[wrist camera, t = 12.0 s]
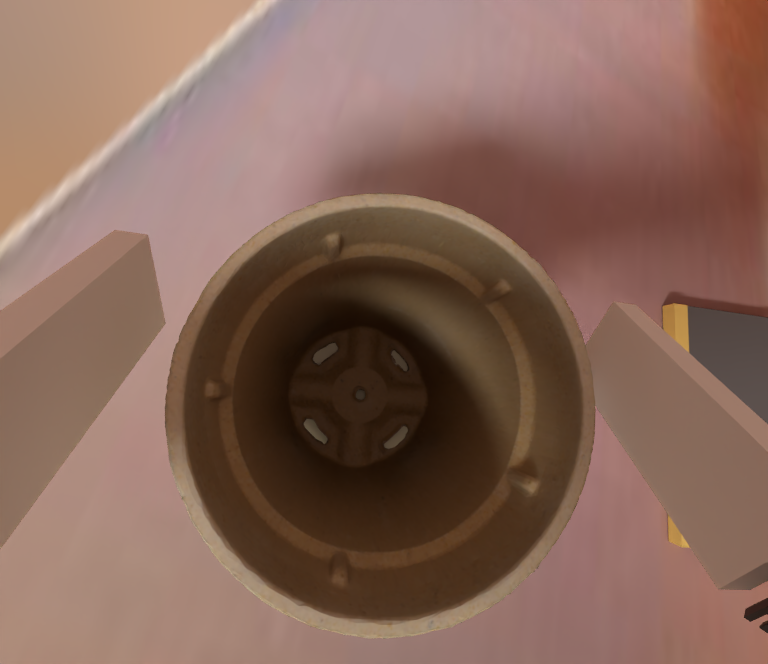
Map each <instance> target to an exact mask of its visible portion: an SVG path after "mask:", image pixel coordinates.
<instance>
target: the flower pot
mask: <svg viewBox="0 0 768 664" xmlns="http://www.w3.org/2000/svg"><path fill="white" fill-rule="evenodd" d="M331 343H336V345H337V347H338V350H337V351H336V352H335V353H333V354H332V355H331V356H330V357H328V358H326V359H325V360H324V361H323V362H321V364H320V365H318V364H317V363H315V362H314V361H313V357H314V354H315V353H316V352H317V351H319V350H320V349H322V348H324V347H326V346H328V345H329V344H331ZM393 350H395V351H396V352H397V353H398V354H399V355H400V356H401V357H402V358H403V359H404V361H405V362H406V364H407V367H408V370H407V371H404V370H403V368H401V366H400V365H399V364H397V365H396V364H395V363H396V361H395V359H394V358H393V356H392V355H391V354H392V351H393ZM358 390H363V391H364V392H365V398H364V399H362V400H360V399H357V398H356V393H357V391H358ZM165 399H166V404H165V428H166V436H167V445H168V452H169V461H170V466H171V470H172V473H173V476H174V479H175V482H176V486H177V488H178V490H179V492H180V495H181V497H182V500H183V501H184V503H185V506H186V508H187V511H188V514H189V517H190V519H191V521H192V523H193V525H194V526H195V527H196V529H197V530H198V531H199V533H200V534H201V536H202V538H203V540H204V542H205V543H206V544H207V545H208V547H209V549H210V550H211V552H212V553H213V554H214V555H215V557H216V558H217V559H218V560H219V561H220V562H221V564H222V565H223V566H224V567H225V568H226V569H227V570H228V571H229V572H230V573H231V574H232V575H233V576H234V577H235V578H236V579H237V580H238V581H240V582H241V583H242V584H243V585H244V586H245V587H246V588H247V589H248V590H249V591H251V592H252V593H253V594H254V595H256V596H257V597H258V598H259V599H261V600H262V601H263V602H265V603H266V604H268V605H269V606H271V607H273V608H275V609H276V610H278V611H280V612H282V613H283V614H285V615H287V616H289V617H293V618H295V619H297V620H299V621H301V622H303V623H305V624H307V625H309V626H311V627H315V628H318V629H324V630H328V631H333V632H337V633H340V634H343V635H352V636H358V637H364V638H367V639H373V638H383V639H386V638H395V637H404V636H415V635H419V634H424V633H428V632H431V631H434V630H440V629H445V628H450V627H453V626H455V625H456V624H458V623H462V622H463V621H465V620H466V619H469V618H471V617H473V616H475V615H477V614H479V613H481V612H482V611H484V610H486V609H488V608H491V607H492V606H493V605H494V604H496V603H498V602H499V601H501V600H502V599H504V597H505V596H506V595H508V594H511V592H512V591H513V590H514V589H515V588H516V587H517V586H518V585H519V584H520V583H521V582H522V581H524V580H525V579H526V578H527V577H528V576H529V575H530V574H531V573H533V572H534V571H535V569H537V568H538V567H539V565H540V562H541V561H542V560H543V559H544V558H545V556H546V555H547V554H548V552H549V551H550V549H551V548H552V546H553V545H554V544H555V543H556V541H557V540H558V538H559V536H560V535H561V533H562V531H563V530H564V528H565V527H566V525H567V523H568V521H569V520H570V518H571V516H572V513H573V511H574V509H575V507H576V505H577V502H578V500H579V496H580V494H581V492H582V489H583V487H584V484H585V481H586V476H587V473H588V471H589V465H590V460H591V453H592V450H593V447H592V446H593V443H594V434H595V431H594V430H595V396H594V388H593V377H592V371H591V363H590V361H589V358H588V354H587V350H586V347H585V343H584V340H583V336H582V333H581V331H580V330H579V327H578V324H577V322H576V319H575V318H574V315H573V312H572V311H571V310H570V308H569V307H568V305H567V303H566V300H565V299H564V298H563V296H562V295H561V293H560V291H559V290H558V287H557V285H556V284H555V282H554V281H553V280H552V279H551V278H550V277H549V276H548V275H547V273H546V271H545V270H544V269H543V268H542V266H541V265H540V264H539V263H537V262H536V261H535V259H534V258H532V257H530V256H529V255H528V253H527V251H525V250H524V249H522V248H521V247H520V246H518V245H517V243H516V242H515V241H513V240H512V239H511V238H509V237H508V236H507V235H505V234H504V233H503V232H501V231H500V230H498V229H497V228H496V227H494V226H493V225H491V224H489V223H488V222H486V221H484V220H482V219H480V218H478V217H477V216H475V215H474V214H469V213H467V212H466V211H464V210H462V209H460V208H457V207H454V206H452V205H449V204H445V203H442V202H440V201H435V200H434V201H433V200H430V199H427V198H422V197H419V196H412V195H407V194H383V193H374V194H359V195H351V196H342V197H337V198H333V199H328V200H326V201H322V202H318V203H316V204H314V205H311V206H307V207H305V208H303V209H300V210H298V211H294V212H292V213H290V214H288V215H286V216H285V217H283V218H281V219H279V220H278V221H276V222H274V223H272V224H271V225H269V226H267V227H266V228H264V229H263V230H261V231H260V232H259V233H257V234H256V235H254V236H253V237H252V238H251V239H250V240H248V242H247V243H245V244H243V245H242V246H241V247H240V248H239V249H238V250H237V251H236V252H234V253H233V254H232V255H231V256H230V258H229V259H228V260H227V261H226V262H225V263H224V264H223V265H222V266H221V267H220V269H219V270H218V271H217V272H216V273H215V274H214V276H213V277H212V278H211V279H210V281H209V282H208V284H207V285H206V287H205V289H204V290H203V292H202V294H201V296H200V298H199V299H198V301H197V303H196V305H195V307H194V308H193V310H192V312H191V313H190V315H189V316H188V319H187V321H186V324H185V325H184V326H183V329H182V331H181V333H180V336H179V341H178V343H177V344H176V346H175V349H174V352H173V357H172V362H171V367H170V374H169V377H168V384H167V393H166V398H165ZM306 419H312V420H314V422H315V423H316V425H317V427H318V428H319V430H320V431H321V432H322V433H323V434H324V435H325V436H326V437H327V442H326V443H325V444H323V442H321V441H320V440H317V439H316V438H315V437H314V436H313V435H312V434H311V433H310V432H309V431H308V430H307V429H306V428H305V426H304V422H305V421H306ZM403 426H405V427H407V429H408V432H407V433H406V435H405V437H404V439H403V440H402V441H401V442H399V443H398V445H396V446H395V447H393V448H390V449H388V448H385V447H384V444H385V443H386V442H387V441H388V440H389V439H391V438H392V437H393V436H394V435H395V434H396V433H397V432H398V431H399V430H400V429H401V427H403Z"/></svg>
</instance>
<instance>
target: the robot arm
mask: <svg viewBox="0 0 768 664" xmlns="http://www.w3.org/2000/svg"><path fill="white" fill-rule="evenodd" d="M165 324H166V323H165V318H164V313H163V308H162V303H161V298H160V293H159V288H158V283H157V278H156V273H155V268H154V262H153V257H152V252H151V247H150V242H149V237H148V235H146V234H139V233H132V232H125V231H118V230H114V231H113V232H111V233H110V234H109V235H107V236H106V237H104V238H103V239H101V240H100V241H99V242H97V243H96V244H94V245H93V246H92V247H90V248H89V249H87V250H86V251H85V252H83V253H82V254H80V255H79V256H77V257H76V258H75V259H73V260H72V261H70V262H69V263H68V264H66V265H65V266H63V267H62V268H60V269H59V270H58V271H56V272H55V273H53V274H52V275H51V276H49V277H48V278H46V279H45V280H43V281H42V282H41V283H39V284H38V285H36V286H35V287H34V288H32V289H31V290H29V291H28V292H27V293H25V294H24V295H22V296H21V297H19V298H18V299H17V300H15V301H14V302H12V303H11V304H10V305H8V306H7V307H5V308H4V309H2V310H1V311H0V549H1V548H2V546H3V545H4V544H5V542H6V541H7V539H8V538H9V537H10V535H11V534H12V533H13V531H14V530H15V529H16V527H17V526H18V524H19V523H20V522H21V520H22V519H23V518H24V516H25V515H26V513H27V512H28V511H29V509H30V508H31V507H32V505H33V504H34V503H35V501H36V500H37V498H38V497H39V496H40V494H41V493H42V492H43V490H44V489H45V488H46V486H47V485H48V483H49V482H50V481H51V479H52V478H53V477H54V475H55V474H56V472H57V471H58V470H59V468H60V467H61V466H62V464H63V463H64V462H65V460H66V459H67V457H68V456H69V455H70V453H71V452H72V451H73V449H74V448H75V447H76V445H77V444H78V442H79V441H80V440H81V438H82V437H83V436H84V434H85V433H86V431H87V430H88V429H89V427H90V426H91V425H92V423H93V422H94V421H95V419H96V418H97V416H98V415H99V414H100V412H101V411H102V410H103V408H104V407H105V406H106V404H107V403H108V401H109V400H110V399H111V397H112V396H113V395H114V393H115V392H116V390H117V389H118V388H119V386H120V385H121V384H122V382H123V381H124V380H125V378H126V377H127V375H128V374H129V373H130V371H131V370H132V369H133V367H134V366H135V365H136V363H137V362H138V360H139V359H140V358H141V356H142V355H143V354H144V352H145V351H146V349H147V348H148V347H149V345H150V344H151V343H152V341H153V340H154V339H155V337H156V336H157V334H158V333H159V332H160V330H161V329H162V328H163V326H164V325H165ZM585 347H586V350H587V354H588V358H589V361H590V363H591V371H592V377H593V388H594V396H595V406H596V407H597V409H598V410H599V412H600V413H601V415H602V416H603V418H604V419H605V421H606V422H607V424H608V425H609V427H610V428H611V430H612V431H613V433H614V434H615V436H616V437H617V439H618V440H619V442H620V443H621V445H622V446H623V448H624V449H625V451H626V452H627V454H628V455H629V457H630V458H631V460H632V461H633V463H634V464H635V466H636V467H637V469H638V470H639V472H640V473H641V475H642V476H643V478H644V479H645V481H646V482H647V484H648V485H649V486H650V488H651V489H652V491H653V492H654V494H655V495H656V497H657V498H658V500H659V501H660V503H661V504H662V506H663V507H664V509H665V510H666V512H667V513H668V515H669V516H670V518H671V519H672V521H673V522H674V524H675V525H676V527H677V528H678V530H679V531H680V533H681V534H682V536H683V537H684V539H685V540H686V542H687V543H688V545H689V546H690V548H691V549H692V551H693V552H694V554H695V555H696V557H697V558H698V560H699V561H700V563H701V564H702V566H703V567H704V569H705V570H706V572H707V573H708V575H709V576H710V578H711V579H712V581H713V582H714V584H715V585H716V587H717V588H718V589H729V590H751V589H753V588H754V587H756V586H758V585H760V584H762V583H764V582H766V581H768V424H767V423H766V422H765V421H764V420H762V419H761V418H760V417H759V416H758V415H757V414H756V413H755V412H754V411H753V410H751V409H750V408H749V407H748V406H747V405H746V404H745V403H744V402H743V401H741V400H740V399H739V398H738V397H737V396H736V395H735V394H734V393H733V392H732V391H730V390H729V389H728V388H727V387H726V386H725V385H724V384H723V383H722V382H721V381H719V380H718V379H717V378H716V377H715V376H714V375H713V374H712V373H711V372H710V371H708V370H707V369H706V368H705V367H704V366H703V365H702V364H701V363H700V362H698V361H697V360H696V359H695V358H694V357H693V356H692V355H691V354H690V353H689V352H687V351H686V350H685V349H684V348H683V347H682V346H681V345H680V344H679V343H678V342H676V341H675V340H674V339H673V338H672V337H671V336H670V335H669V334H668V333H666V332H665V331H664V330H663V329H662V328H661V327H660V326H659V325H658V324H657V323H655V322H654V321H653V320H652V319H651V318H650V317H649V316H648V315H647V314H646V313H644V312H643V311H642V310H641V309H640V308H639V307H638V306H637V305H635V304H628V303H621V302H614V301H613V303H612V305H611V306H610V308H609V309H608V311H607V312H606V314H605V316H604V317H603V319H602V320H601V322H600V323H599V325H598V326H597V328H596V330H595V331H594V333H593V334H592V336H591V337H590V339H589V341H588V342H587V344H586V345H585ZM766 614H768V598H766V599H764V600H762V601H760V602H758V603H756V604H754V605H752V606H750V607H748V608H747V609H746V610H745V615H744V618H746V619H747V620H749V621H750V622H751V621H753V620H755V619H757V618H759V617H762V616H764V615H766ZM760 628H761V629H762V630H764V631H765V632H766V633H768V621H766V622H763V623H762V624H761V625H760Z"/></svg>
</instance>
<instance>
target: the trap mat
mask: <svg viewBox="0 0 768 664" xmlns="http://www.w3.org/2000/svg"><path fill="white" fill-rule="evenodd" d="M663 330H664V331H665V332H666V333H668V334H669V335H670V336H671V337H672V338H673V339H674V340H675V341H676V342H678V343H679V344H680V345H681V346H682V347H683V348H684V349H685V350H686V351H687V352H689V353H690V354H691V355H692V356H693V357H694V358H695V359H696V360H697V361H698V362H700V363H701V364H702V365H703V366H704V367H705V368H706V369H707V370H708V371H710V372H711V373H712V374H713V375H714V376H715V377H716V378H717V379H718V380H719V381H721V382H722V383H723V384H724V385H725V386H726V387H727V388H728V389H729V390H730V391H732V392H733V393H734V394H735V395H736V396H737V397H738V398H739V399H740V400H741V401H743V402H744V403H745V404H746V405H747V406H748V407H749V408H750V409H751V410H753V411H754V412H755V413H756V414H757V415H758V416H759V417H760V418H761V419H762V420H764V421H765V422H766V423H767V424H768V318H767V317H760V316H753V315H747V314H740V313H733V312H726V311H719V310H712V309H705V308H699V307H692V306H687V305H683V304H676V303H673V304H669V305H665V306H663ZM668 536H669V542H671V543H674V544H676V545H678V546H680V547H689V548H690V546H689V545H688V543H687V542H686V540H685V539H684V537H683V536H682V534H681V533H680V531H679V530H678V528H677V527H676V525H675V524H674V522H673V521H672V519H671V518H670V516H669V515H668Z"/></svg>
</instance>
